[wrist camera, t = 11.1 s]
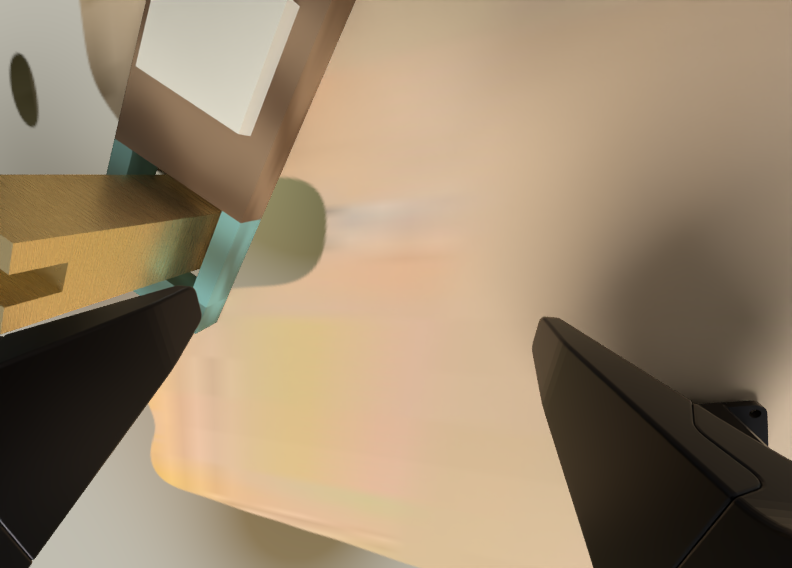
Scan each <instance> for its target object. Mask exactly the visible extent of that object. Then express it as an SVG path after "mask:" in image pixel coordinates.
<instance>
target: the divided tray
mask: <svg viewBox="0 0 792 568" xmlns="http://www.w3.org/2000/svg"><path fill="white" fill-rule="evenodd" d="M354 3H355V0H146V4H145V9H144V13H143V17H142V22H141V26H140V30H139V35H138V39H137V43H136V48H135V52H134V56H133V61H132V65H131V69H130V74H129V78H128V83H127V87H126V91H125V96H124V100H123V104H122V109H121V113H120V117H119V122H118V126H117V130H116V135H115V139H114V144H113V148H112V152H111V157H110V161H109V165H108V170H107V174H106V175H155V174H156V171H157V167H158V168H159V169H161V170H162V171H164V172H165V173H167V174H168V175H170V176H171V177H173V178H174V179H176V180H177V181H178V182H180V183H181V184H183V185H184V186H186V187H187V188H189V189H190V190H192V191H193V192H195V193H196V194H198V195H199V196H201V197H202V198H204V199H205V200H207V201H208V202H210V203H211V204H213V205H214V206H216V207H217V208H219V209H220V210H222V213H221V215H220V218H219V221H218V223H217V226H216V228H215V231H214V234H213V236H212V239H211V242H210V244H209V247H208V249H207V252H206V255H205V257H204V260H203V263H202V265H201V268H200V271H199V273H198V276H197V277H196V276H195V275H193V274H192V273H191V272H188V273H185V274H182V275H179V276H176V277H173V278H170V279H167V280H164V281H161V282H158V283H155V284H152V285H149V286H146V287H143V288H140V289H137V290H134V292H136V293H137V294H139V295H140V296H141V295H145V294H148V293H152V292H155V291H159V290H162V289H166V288H169V287H172V286H176V285H181V286H191V287H193V288H194V289H195V290H196V293H197V297H198V301H199V305H200V309H201V313H202V317H201V321H200V324H199V325H198V327H197V329H196V330H195V332H194V333H195V334H196V333H198V332H200V331H202V330H203V329H205V328H207V327H209V326H211V325H212V324H214V323H216V322H217V320H218V318H219V316H220V313H221V311H222V309H223V306H224V304H225V302H226V299H227V297H228V295H229V292H230V290H231V288H232V285H233V283H234V281H235V278H236V276H237V274H238V271H239V269H240V267H241V264H242V262H243V260H244V258H245V255H246V253H247V251H248V248H249V246H250V243H251V241H252V239H253V237H254V234H255V232H256V230H257V227H258V225H259V222H260V220H261V218H262V216H263V213H264V211H265V209H266V207H267V204H268V202H269V200H270V197H271V195H272V192H273V190H274V188H275V185H276V183H277V181H278V179H279V176H280V174H281V172H282V169H283V167H284V165H285V162H286V160H287V158H288V156H289V153H290V151H291V149H292V146H293V144H294V142H295V139H296V137H297V135H298V132H299V130H300V128H301V125H302V123H303V121H304V118H305V116H306V114H307V111H308V109H309V107H310V105H311V102H312V100H313V98H314V95H315V93H316V91H317V88H318V86H319V84H320V81H321V79H322V77H323V74H324V72H325V70H326V67H327V65H328V63H329V60H330V58H331V56H332V54H333V51H334V49H335V47H336V44H337V42H338V40H339V37H340V35H341V33H342V30H343V28H344V26H345V23H346V21H347V19H348V16H349V14H350V12H351V9H352V7H353V5H354Z"/></svg>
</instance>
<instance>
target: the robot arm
mask: <svg viewBox="0 0 792 568" xmlns="http://www.w3.org/2000/svg"><path fill="white" fill-rule="evenodd" d="M201 317H202V313H201V309H200V305H199V301H198V297H197V293H196V290H195V289H194V288H193V287H191V286H181V285H176V286H172V287H169V288H166V289H162V290H159V291H155V292H152V293H148V294H145V295H141V296H138V297H135V298H131V299H128V300H125V301H121V302H117V303H114V304H110V305H107V306H103V307H100V308H96V309H93V310H89V311H86V312H83V313H79V314H76V315H73V316H69V317H65V318H62V319H59V320H55V321H51V322H48V323H45V324H41V325H38V326H34V327H31V328H28V329H24V330H20V331H17V332H14V333H10V334H7V335H5V336H4V337H3V336H0V568H29V567H30V565H31V564H32V560H34V559H35V558H36V556H37V555H38V554H39V552H40V551H41V550H42V548H43V547H44V545H45V544H46V543H47V541H48V540H49V539H50V537H51V536H52V534H53V533H54V532H55V530H56V529H57V528H58V526H59V525H60V523H61V522H62V521H63V519H64V518H65V517H66V515H67V514H68V512H69V511H70V510H71V508H72V507H73V506H74V504H75V503H76V502H77V500H78V499H79V497H80V496H81V495H82V493H83V492H84V490H85V489H86V488H87V486H88V485H89V484H90V482H91V481H92V480H93V478H94V477H95V475H96V474H97V473H98V471H99V470H100V468H101V467H102V466H103V464H104V463H105V461H106V460H107V459H108V458H109V456H110V455H111V453H112V452H113V451H114V449H115V448H116V446H117V445H118V444H119V442H120V441H121V440H122V438H123V437H124V435H125V434H126V433H127V431H128V430H129V429H130V427H131V426H132V425H133V423H134V422H135V420H136V419H137V418H138V416H139V415H140V414H141V412H142V411H143V410H144V408H145V407H146V405H147V404H148V403H149V401H150V400H151V399H152V397H153V396H154V394H155V393H156V392H157V390H158V389H159V388H160V386H161V385H162V383H163V382H164V381H165V379H166V378H167V377H168V375H169V374H170V372H171V371H172V369H173V368H174V366H175V365H176V363H177V361H178V360H179V358H180V356H181V355H182V353H183V351H184V349H185V348H186V346H187V344H188V342H189V341H190V339H191V337H192V336H193V334H194V332H195V330H196V329H197V327H198V325H199V324H200V321H201ZM532 352H533V358H534V363H535V369H536V374H537V380H538V385H539V390H540V396H541V401H542V405H543V409H544V412H545V416H546V419H547V422H548V425H549V428H550V431H551V435H552V438H553V441H554V444H555V447H556V450H557V454H558V457H559V460H560V463H561V466H562V470H563V473H564V476H565V479H566V482H567V485H568V489H569V492H570V495H571V498H572V501H573V504H574V508H575V511H576V514H577V517H578V520H579V523H580V527H581V530H582V533H583V536H584V539H585V542H586V546H587V549H588V552H589V555H590V558H591V561H592V565H593V568H792V461H791V460H789V459H787V458H786V457H784V456H782V455H780V454H779V453H777V452H775V451H774V450H772V449H770V448H769V447H768V420H767V411H766V409H765V408H764V407H763V406H761V405H760V404H759V403H758V402H755V401H740V402H727V403H708V404H695V403H694V404H692V402H691V401H690V400H689V399H687V398H686V397H684V396H683V395H681V394H679V393H678V392H676V391H675V390H673V389H671V388H670V387H668V386H667V385H665V384H663V383H662V382H660V381H659V380H657V379H655V378H654V377H652V376H651V375H649V374H647V373H646V372H644V371H643V370H641V369H639V368H638V367H636V366H635V365H633V364H631V363H630V362H628V361H627V360H625V359H623V358H622V357H620V356H619V355H617V354H616V353H614V352H612V351H611V350H609V349H608V348H606V347H604V346H603V345H601V344H600V343H598V342H596V341H595V340H593V339H592V338H590V337H588V336H587V335H585V334H584V333H582V332H580V331H579V330H577V329H576V328H574V327H572V326H571V325H569V324H568V323H566V322H564V321H563V320H561V319H560V318H554V317H542V318H541V319H540V321H539V323H538V327H537V330H536V334H535V337H534V341H533V346H532ZM752 410H755V411H754V412H753V413H750V411H752Z"/></svg>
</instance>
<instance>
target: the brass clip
mask: <svg viewBox="0 0 792 568" xmlns="http://www.w3.org/2000/svg"><path fill="white" fill-rule="evenodd" d="M221 213H222V210H220V209H219V208H217V207H216V206H214V205H213V204H211V203H210V202H208V201H207V200H205V199H204V198H202V197H201V196H199V195H198V194H196V193H195V192H193V191H192V190H190V189H189V188H187V187H186V186H184V185H183V184H181V183H180V182H178V181H177V180H176V179H174V178H173V177H171V176H170V175H0V334H3V333H6V332H9V331H13V330H15V329H19V328H22V327H25V326H28V325H31V324H33V323H37V322H40V321H43V320H46V319H49V318H52V317H55V316H58V315H61V314H64V313H67V312H70V311H73V310H76V309H79V308H82V307H85V306H88V305H91V304H94V303H97V302H100V301H103V300H106V299H109V298H112V297H115V296H118V295H121V294H125V293H127V292H130V291H134V290H137V289H140V288H143V287H146V286H149V285H152V284H155V283H158V282H161V281H164V280H167V279H170V278H173V277H176V276H179V275H182V274H185V273H188V272H191V271H194V270H197V269H200V268H201V265H202V263H203V260H204V257H205V255H206V252H207V249H208V247H209V244H210V242H211V239H212V236H213V234H214V231H215V228H216V226H217V223H218V221H219V218H220V215H221Z"/></svg>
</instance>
